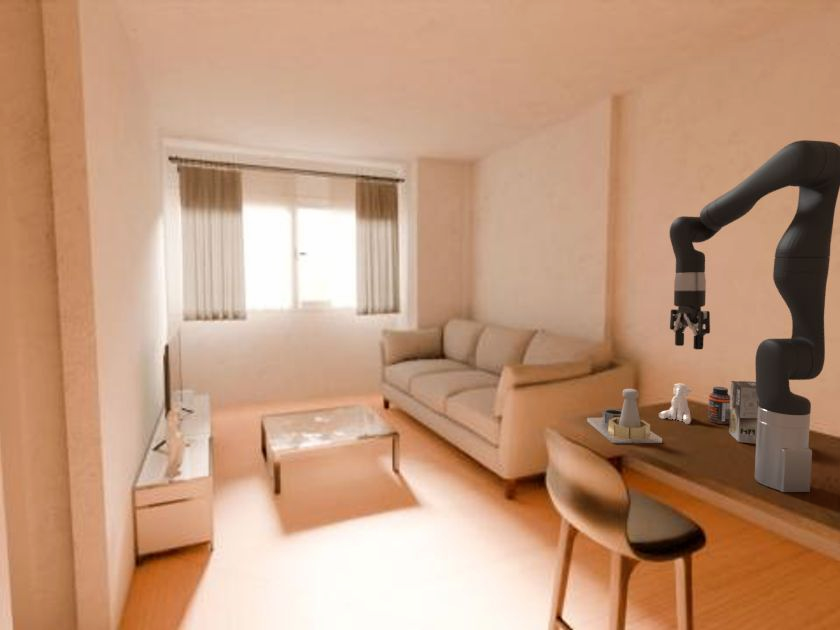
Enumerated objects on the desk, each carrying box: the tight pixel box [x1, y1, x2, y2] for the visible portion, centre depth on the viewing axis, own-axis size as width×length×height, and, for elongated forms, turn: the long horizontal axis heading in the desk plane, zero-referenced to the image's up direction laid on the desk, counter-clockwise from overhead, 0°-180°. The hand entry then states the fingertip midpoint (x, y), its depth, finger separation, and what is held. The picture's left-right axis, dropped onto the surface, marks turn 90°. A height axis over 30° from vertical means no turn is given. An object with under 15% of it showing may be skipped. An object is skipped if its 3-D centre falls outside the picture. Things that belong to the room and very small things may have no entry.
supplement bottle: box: [707, 386, 730, 425], centre depth 147 cm, size 6×6×11 cm
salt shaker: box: [619, 388, 641, 427], centre depth 135 cm, size 6×6×13 cm
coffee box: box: [728, 380, 758, 445], centre depth 132 cm, size 9×6×16 cm
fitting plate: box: [586, 408, 663, 444], centre depth 140 cm, size 20×14×4 cm
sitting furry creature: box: [658, 382, 693, 425], centre depth 151 cm, size 10×9×12 cm
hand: (688, 347), depth 127 cm, fingers open, 8 cm apart
